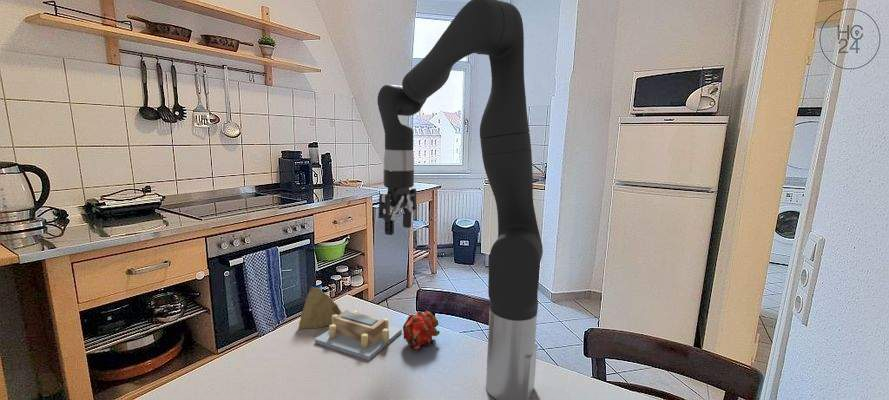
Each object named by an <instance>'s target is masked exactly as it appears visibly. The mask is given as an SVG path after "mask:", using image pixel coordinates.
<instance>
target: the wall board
mask: <svg viewBox="0 0 889 400" xmlns="http://www.w3.org/2000/svg"><path fill="white" fill-rule="evenodd" d="M352 311H353V312H356V313H359V311H358V310H356V309H355V310H352ZM336 316H338V315H337V314H335V315H332V324H331V325H328V330H327V331H325V332H323V333H322V334H320V335H319V336H317V337H316V338H315V339H314V343H315V344H317V345H321V346H324V347H326V348H329V349H333V350H336V351H339V352H342V353H345V354H348V355H350V356H354V357H357V358H359V359H363V360H366V361H370V360H372V358H374V357H375V356H376V355H378V353H380V352H381V351H382V350H383V349H384V348H386V347H387V346H389V344H390V343H391V342H392V341H394V340H395V339H396V338H397V337H398V336H399V335H401V334H402V332H403V328H399V327H394V326H392V325H389V318H386V317H385V318H382V319H383V320H385V329H383V330H382V338H381V339H380V340H379V341H378V342H376V343H375V344H374V345H373V344H370V343H368V334H362V335H361V341H360V340H356V339H353V338H350V337H346V336H343V335H340V334H336V325H335V324H334V317H336Z"/></svg>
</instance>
